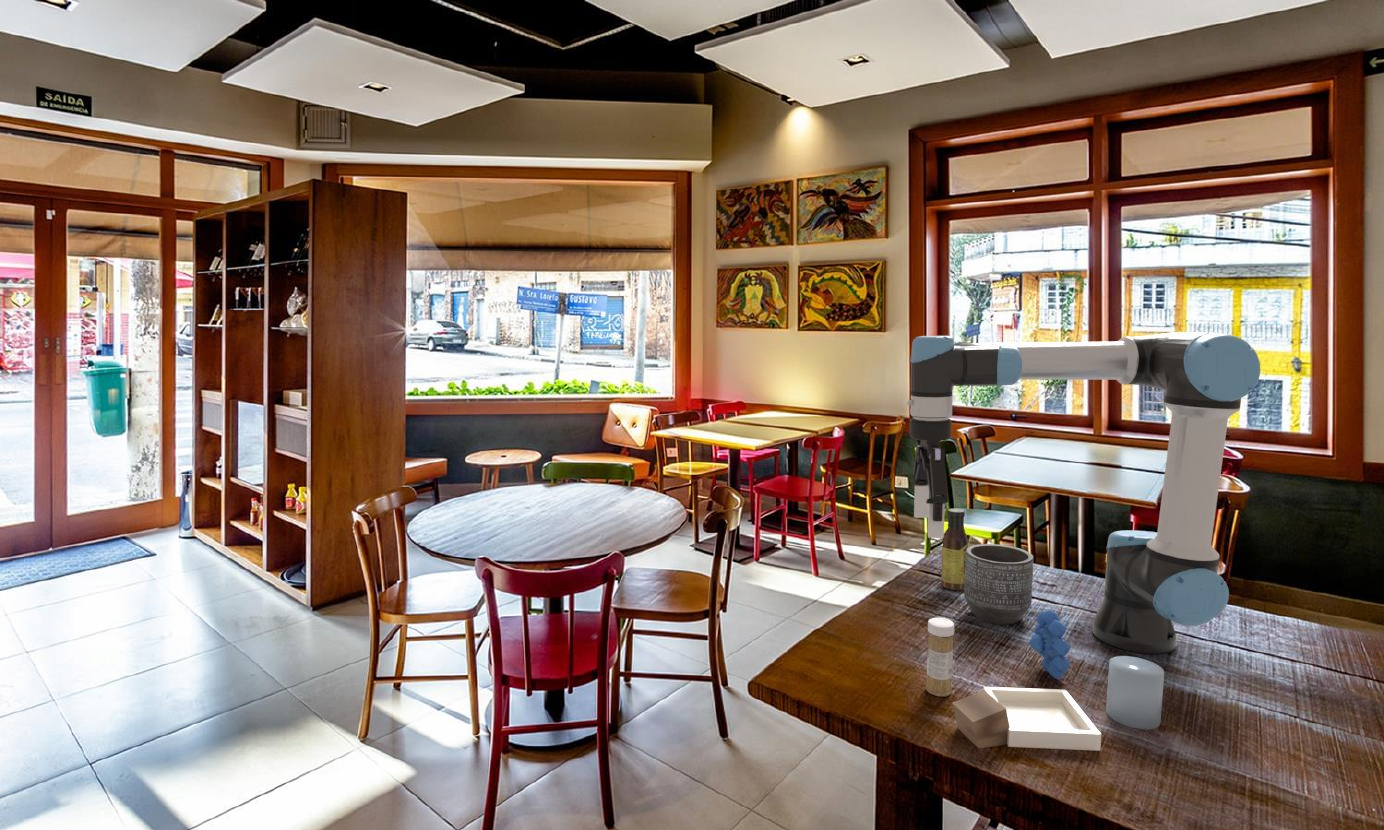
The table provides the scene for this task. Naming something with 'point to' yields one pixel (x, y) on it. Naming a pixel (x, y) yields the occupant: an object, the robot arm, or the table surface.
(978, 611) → the planter
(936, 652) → the sprinkles bottle
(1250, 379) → the robot arm
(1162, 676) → the pale grey rounded cylinder
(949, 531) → the sauce bottle
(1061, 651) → the grapes
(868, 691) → the table surface
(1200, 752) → the table surface
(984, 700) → the walnut block
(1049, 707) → the tray
